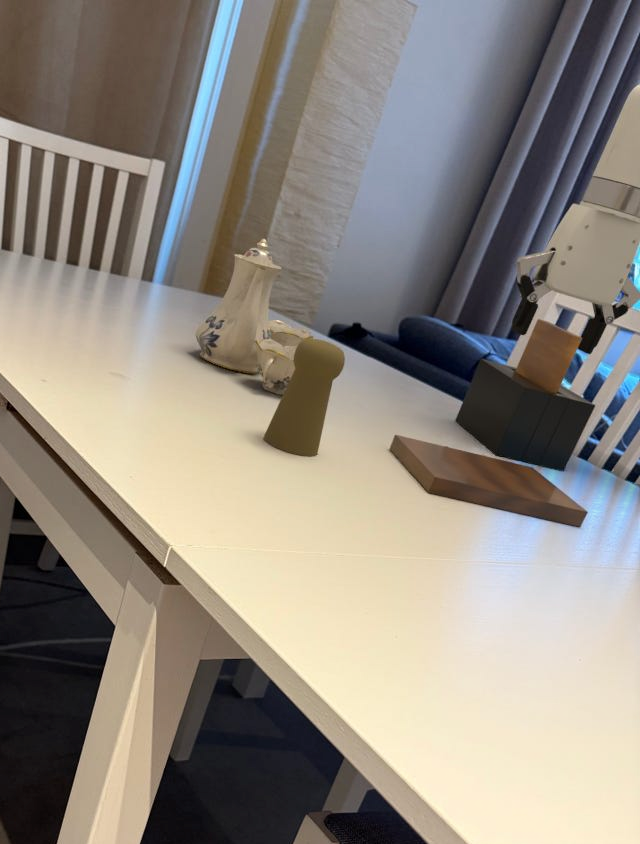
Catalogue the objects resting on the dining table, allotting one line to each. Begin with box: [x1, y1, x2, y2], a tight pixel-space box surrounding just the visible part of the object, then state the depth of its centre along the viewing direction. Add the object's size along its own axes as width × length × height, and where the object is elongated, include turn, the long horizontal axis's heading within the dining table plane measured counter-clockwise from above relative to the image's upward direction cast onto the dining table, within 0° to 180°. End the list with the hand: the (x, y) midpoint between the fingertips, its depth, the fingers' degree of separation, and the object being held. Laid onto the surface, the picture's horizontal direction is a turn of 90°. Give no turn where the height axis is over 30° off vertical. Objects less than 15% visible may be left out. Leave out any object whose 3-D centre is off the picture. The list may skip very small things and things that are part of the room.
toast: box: [515, 318, 582, 393], centre depth 123 cm, size 2×10×14 cm, turn 4°
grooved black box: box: [454, 358, 596, 472], centre depth 125 cm, size 11×15×9 cm
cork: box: [263, 338, 346, 457], centre depth 96 cm, size 6×6×11 cm
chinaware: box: [195, 238, 314, 396], centre depth 124 cm, size 28×17×17 cm, turn 179°
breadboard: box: [389, 434, 589, 528], centre depth 104 cm, size 18×14×2 cm
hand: (550, 342), depth 121 cm, fingers open, 9 cm apart
